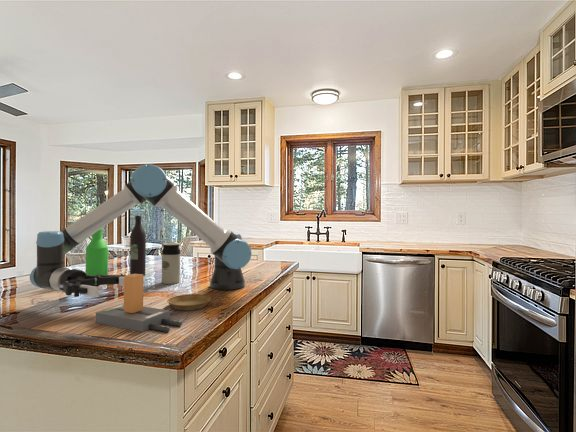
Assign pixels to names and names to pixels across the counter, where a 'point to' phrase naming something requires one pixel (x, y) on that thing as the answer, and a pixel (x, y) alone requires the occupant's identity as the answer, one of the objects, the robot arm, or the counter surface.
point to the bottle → (97, 256)
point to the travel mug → (170, 263)
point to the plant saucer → (189, 301)
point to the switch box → (136, 319)
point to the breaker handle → (133, 293)
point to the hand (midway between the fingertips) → (117, 286)
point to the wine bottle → (137, 248)
